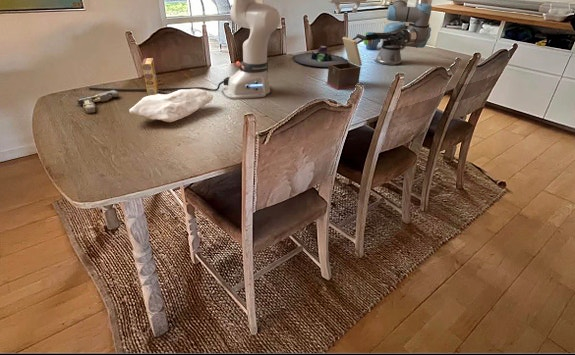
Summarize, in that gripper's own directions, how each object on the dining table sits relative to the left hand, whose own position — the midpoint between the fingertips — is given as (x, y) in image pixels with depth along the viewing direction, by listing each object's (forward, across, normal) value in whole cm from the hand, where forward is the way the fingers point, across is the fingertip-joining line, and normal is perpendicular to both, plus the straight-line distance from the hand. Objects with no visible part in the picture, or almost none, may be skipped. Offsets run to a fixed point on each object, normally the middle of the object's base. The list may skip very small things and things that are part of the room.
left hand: (346, 13), depth 169 cm
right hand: (+14, +20, 0) cm, 24 cm away
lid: (+18, +6, 0) cm, 19 cm away
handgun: (+34, -110, +20) cm, 117 cm away
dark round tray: (+35, +18, +44) cm, 59 cm away
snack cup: (+35, +70, +57) cm, 97 cm away
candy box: (+34, -88, +23) cm, 97 cm away
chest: (+35, +3, 0) cm, 35 cm away
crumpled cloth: (+34, -86, -3) cm, 92 cm away
